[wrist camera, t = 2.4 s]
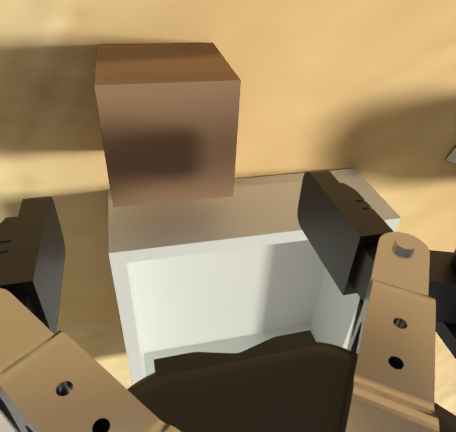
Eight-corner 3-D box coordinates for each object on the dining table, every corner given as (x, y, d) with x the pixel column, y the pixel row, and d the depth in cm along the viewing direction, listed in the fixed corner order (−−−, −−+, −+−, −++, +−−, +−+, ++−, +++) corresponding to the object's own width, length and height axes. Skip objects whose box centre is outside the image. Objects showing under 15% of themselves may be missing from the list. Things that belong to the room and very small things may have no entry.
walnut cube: (97, 43, 17) (94, 85, 13) (212, 42, 18) (240, 80, 14) (112, 149, 20) (113, 207, 16) (210, 142, 21) (233, 196, 17)
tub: (108, 190, 21) (108, 253, 18) (354, 168, 24) (401, 218, 21) (134, 351, 30) (138, 417, 26) (313, 320, 33) (340, 375, 29)
